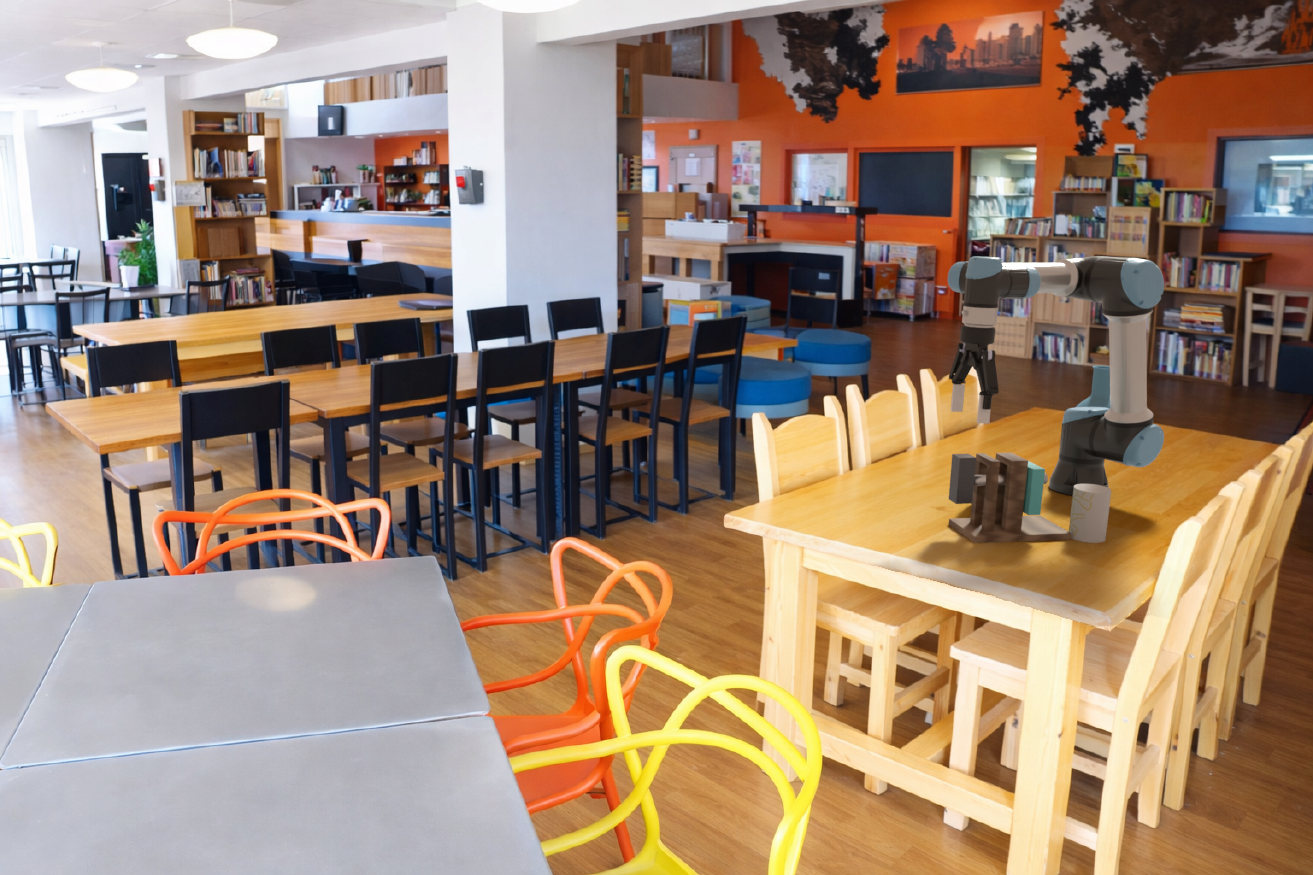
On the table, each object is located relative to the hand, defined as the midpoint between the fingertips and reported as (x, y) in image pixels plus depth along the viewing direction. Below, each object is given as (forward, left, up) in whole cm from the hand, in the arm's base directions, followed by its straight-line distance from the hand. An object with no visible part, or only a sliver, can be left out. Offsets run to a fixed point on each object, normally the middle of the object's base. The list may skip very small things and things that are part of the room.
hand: (969, 417), depth 241 cm
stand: (-12, +1, -28) cm, 31 cm away
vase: (-90, -88, -28) cm, 129 cm away
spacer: (-15, +1, -22) cm, 27 cm away
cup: (-29, +7, -28) cm, 41 cm away
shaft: (-9, +1, -20) cm, 22 cm away
